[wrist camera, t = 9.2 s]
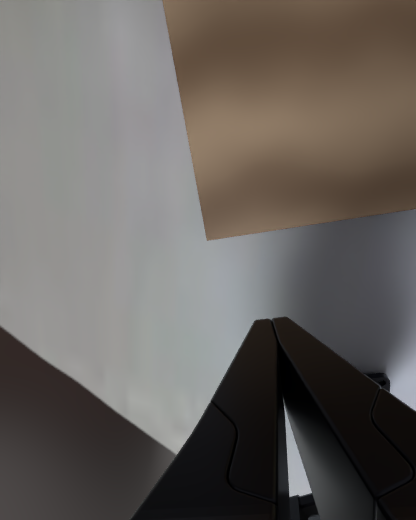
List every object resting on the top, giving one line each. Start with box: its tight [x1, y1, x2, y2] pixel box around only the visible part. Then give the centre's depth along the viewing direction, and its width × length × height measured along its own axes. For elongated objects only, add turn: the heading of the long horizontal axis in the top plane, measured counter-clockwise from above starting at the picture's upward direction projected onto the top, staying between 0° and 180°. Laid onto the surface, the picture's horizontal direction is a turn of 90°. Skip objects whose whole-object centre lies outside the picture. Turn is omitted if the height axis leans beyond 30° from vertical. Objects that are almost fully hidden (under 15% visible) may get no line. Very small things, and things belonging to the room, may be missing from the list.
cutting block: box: [163, 0, 416, 241], centre depth 15 cm, size 15×13×2 cm
